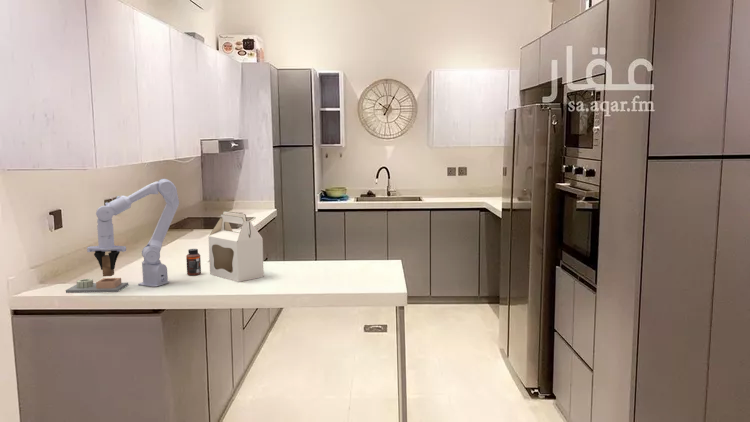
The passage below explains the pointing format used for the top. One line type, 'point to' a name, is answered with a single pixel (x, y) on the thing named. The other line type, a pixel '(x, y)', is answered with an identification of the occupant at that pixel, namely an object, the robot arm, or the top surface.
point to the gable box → (235, 249)
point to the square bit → (106, 266)
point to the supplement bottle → (193, 262)
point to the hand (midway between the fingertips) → (107, 269)
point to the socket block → (97, 285)
